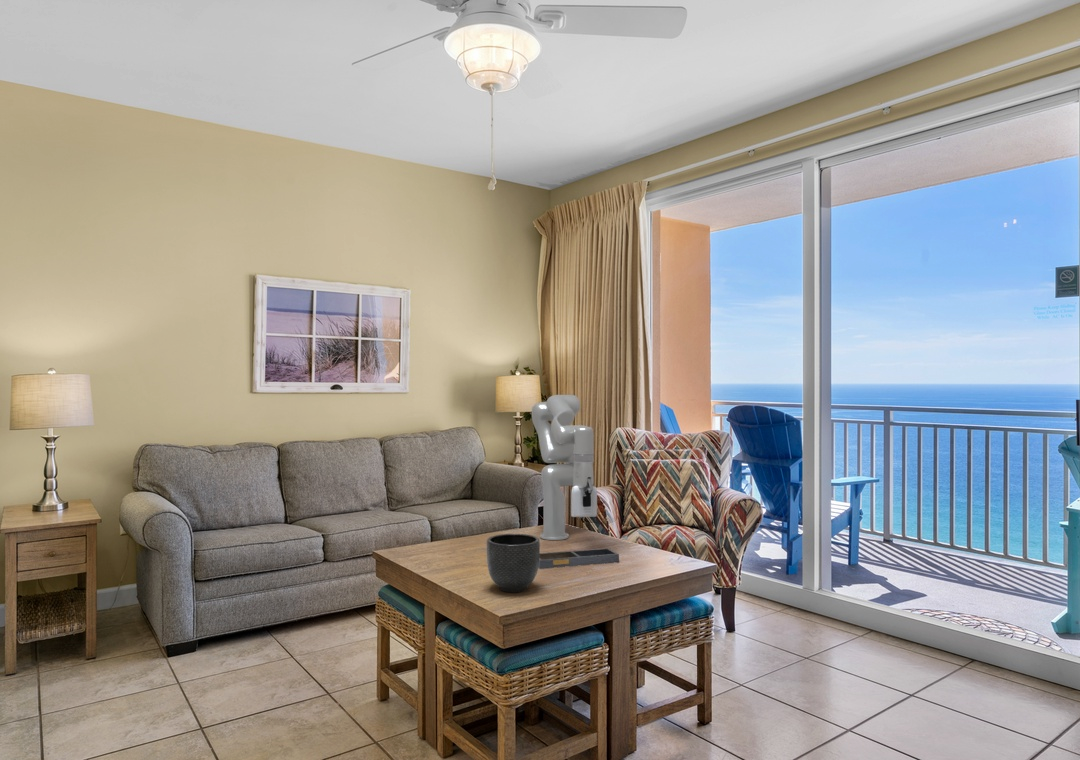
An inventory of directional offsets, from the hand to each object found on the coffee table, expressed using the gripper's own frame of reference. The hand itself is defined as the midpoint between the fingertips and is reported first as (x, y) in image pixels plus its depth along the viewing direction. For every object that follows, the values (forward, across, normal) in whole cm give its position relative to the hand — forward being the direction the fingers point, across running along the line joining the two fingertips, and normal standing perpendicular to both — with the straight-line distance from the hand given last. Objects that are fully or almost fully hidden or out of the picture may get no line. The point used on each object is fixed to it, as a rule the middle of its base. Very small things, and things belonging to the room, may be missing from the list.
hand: (584, 505), depth 262 cm
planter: (+20, +32, -39) cm, 54 cm away
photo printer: (+5, 0, 0) cm, 5 cm away
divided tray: (+20, +8, -7) cm, 22 cm away
